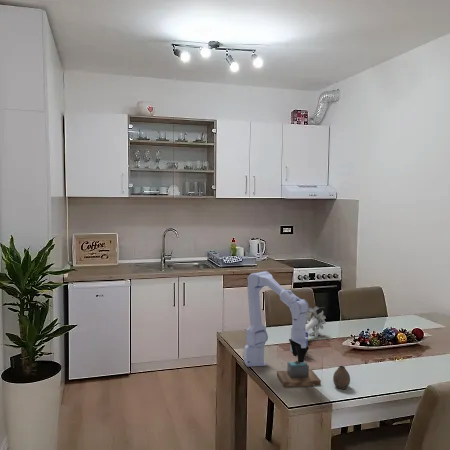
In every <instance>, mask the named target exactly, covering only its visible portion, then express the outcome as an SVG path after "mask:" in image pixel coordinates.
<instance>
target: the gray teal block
mask: <svg viewBox="0 0 450 450" xmlns="http://www.w3.org/2000/svg"><path fill="white" fill-rule="evenodd" d="M304 362H305V363H306V366H295V367H291V365H290V364H289V362H287V366H286V367H287V369H286V371H287V374H288V375H289V377H290V378H309V369H310V368H309V367H310V366H309V364H308V363H307V362H306V361H304Z"/></svg>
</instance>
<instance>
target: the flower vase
mask: <svg viewBox="0 0 450 450" xmlns="http://www.w3.org/2000/svg"><path fill="white" fill-rule="evenodd" d="M319 309H320V307H318V305H317V306H314V307H313V308H312V307H309V310H308V311H307V312H306V332H307V333H308V334H309V330H310V329H311V330H312V331H313V332H311V333H310V334H309V336H314V337H316V338H318V337H319V336H321V337H323V336H324V335H323V334H322V333H321V332H319V330H323V329H324V325H326V324H327V321H326V320H325V319H327V318H326V315H324V310H322V311H321V312H319V313H317V311H318V310H319ZM312 314H313V315H312Z"/></svg>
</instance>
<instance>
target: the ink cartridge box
mask: <svg viewBox="0 0 450 450" xmlns="http://www.w3.org/2000/svg"><path fill="white" fill-rule="evenodd" d="M305 337H307V338H308V340H306V346H308V343H309V332H308V333H307V332H306V334H305ZM290 339H292V327H291V329H290ZM289 345H290V347H289V351H290V353H292V354H293V352H292V347H291V344H290V343H289ZM308 347H309V346H308ZM296 357H297V358H298V356H296ZM307 357H308V352H307V353H306V355H305V358H307Z"/></svg>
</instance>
